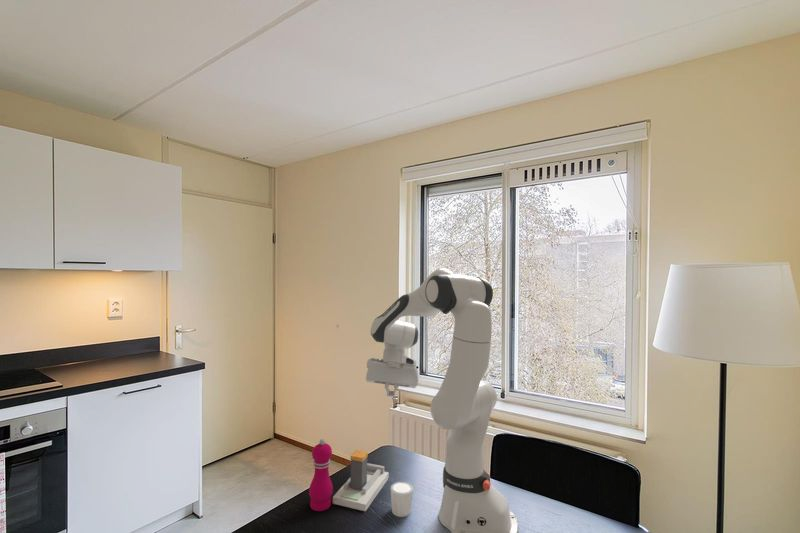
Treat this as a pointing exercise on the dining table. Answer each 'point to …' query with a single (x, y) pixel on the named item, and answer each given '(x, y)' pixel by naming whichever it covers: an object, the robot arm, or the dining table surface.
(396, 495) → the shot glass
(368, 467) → the white slider switch base
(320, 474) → the pepper mill
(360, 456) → the plate
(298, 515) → the dining table surface
